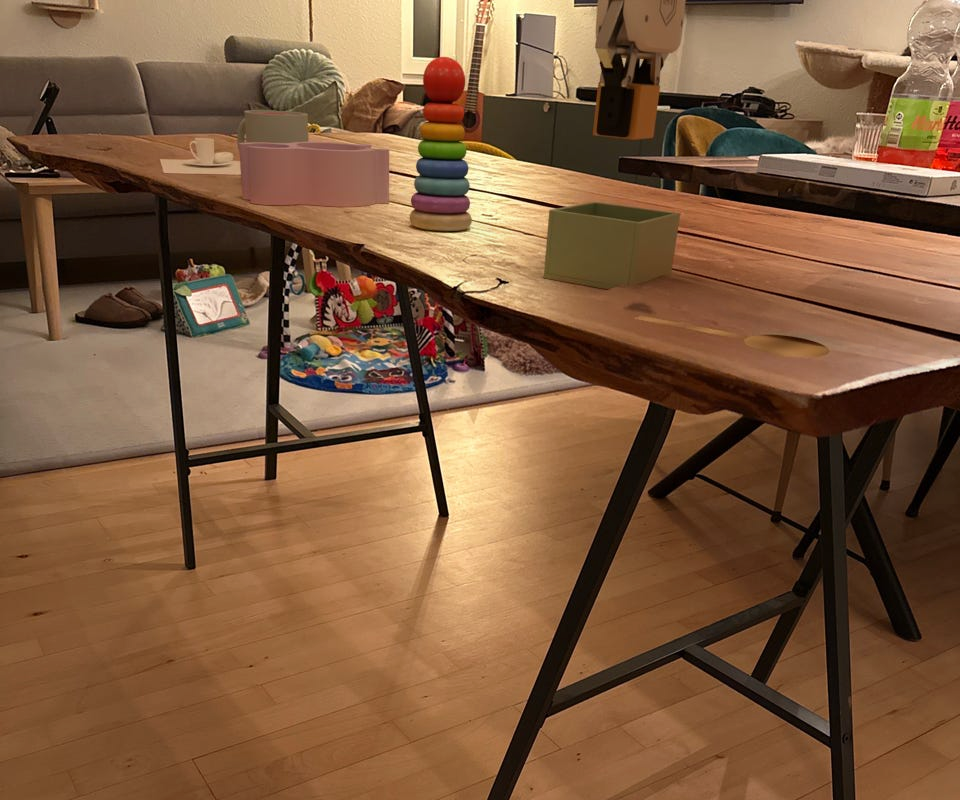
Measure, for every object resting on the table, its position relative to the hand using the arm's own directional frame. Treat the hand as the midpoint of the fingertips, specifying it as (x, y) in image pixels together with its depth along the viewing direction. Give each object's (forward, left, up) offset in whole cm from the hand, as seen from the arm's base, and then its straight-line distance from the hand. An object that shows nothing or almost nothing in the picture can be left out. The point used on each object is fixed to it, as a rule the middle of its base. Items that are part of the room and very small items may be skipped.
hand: (624, 132), depth 94 cm
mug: (+70, -25, -14) cm, 75 cm away
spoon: (-19, +17, -14) cm, 29 cm away
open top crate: (0, 0, -14) cm, 14 cm away
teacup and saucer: (+90, -35, -14) cm, 97 cm away
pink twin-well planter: (+55, -18, -14) cm, 59 cm away
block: (0, 0, 0) cm, 0 cm away
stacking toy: (+30, -13, -14) cm, 35 cm away
